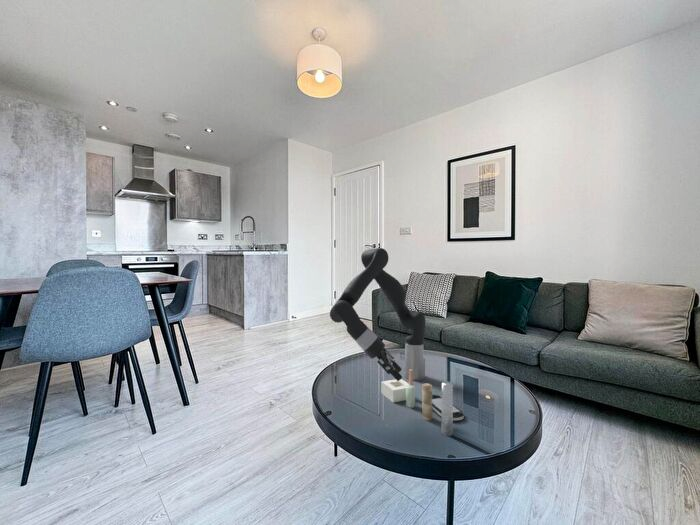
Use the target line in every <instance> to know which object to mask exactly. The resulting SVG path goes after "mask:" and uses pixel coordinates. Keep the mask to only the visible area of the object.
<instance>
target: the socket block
mask: <svg viewBox="0 0 700 525" xmlns="http://www.w3.org/2000/svg"><path fill="white" fill-rule="evenodd" d="M380 384H381V385H380V386H381V389H380V390H381V392H380V393H381V394H382V395H383V396H385V397H386V398H387V399H388V400H389V401H390V402H392V403H397V402H402V401H403V402H404V401H406V386H407V385H412V386H414V380H413V370H412V369H409V379H408V382H407V381H405V380H404V379H402V378H401V379H400V380H399V381H397V380H396V379H395V378H394V379H391V380H390V379H389V380H384V381H381V383H380Z"/></svg>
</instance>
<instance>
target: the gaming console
mask: <svg viewBox="0 0 700 525" xmlns="http://www.w3.org/2000/svg"><path fill="white" fill-rule="evenodd" d="M441 410H442V396H441V395H437V394H432V411H434V412H435V413H436V414H437V415H438V416H440V417H441ZM464 419H465V414H464V413H463V411H462V410H461V409H460V408H458V407H457V406H455V405H454V404H453V422H454V423H455V422H460V421H463V420H464Z"/></svg>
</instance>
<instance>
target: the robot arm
mask: <svg viewBox="0 0 700 525" xmlns="http://www.w3.org/2000/svg"><path fill="white" fill-rule="evenodd" d="M360 259H361V263H362V266H363V267H364V268H365V269H363V270H362V271H361V272H360V273H358V274H357V275H356V276H355V277H354V278H352V279H351V280H350V282H349V283H348V284H347V286H346V287H345V289H344V290H343V292H342V294H341V295H340V297H339V298H338V299H337V300H336V302H335V304H334V305H332V307H331V309H330V311H329V317H330V319H331V321H333V322H334V323H337V324H338V323H342V322H343V323H344V325H345V326H346V332H347V333H348V334H349V336H351V338H352V339H353V340H354V342H356V344H357V345H358V346H359V347H360V348H361V350H362V351H363V352H364V353H365V354H366V355H367V356H368V357H369V358H370V359H374V358H377V363H378V365H379V366H380V367H381V368H382V369H383V370H384V371H385V372H386V373H387V375H391V376H392V377H393V378H394V380H395V379H396V380H397V381H399V380H400V379H402V378H403V376H402V374H400V372H402V367H401V366H400V365H399V364H398V363H397V362H396V360H395V358H394V356H393V355H392V354H391V353H390V352H389V351H388V350H387V349H386V343H384V342H383V341H382V340H381V339H380V337H379V336H378V335H377V334H376V333H375V332H374V331H373V330H372V329H371V328H370V327H368V326H367V325H366V324H365V323H364V321H363V320H361V318H360V316H359V314H358V313H357V311H356V309H355V307H354V306H355V305H356V304H357V303H358V301H359V300H360V299H361V297H362V296H363V294H364V293H365V291H366V289H367V288H368V286H369V285H370V284H371V283H372V281H373V280H374V281H375V282H376V283H377V284H378V286H379V287H380V289H381V291H382V292H383V294H384V295H385V297H386V299H387V300H388V302H390V305H391V306H392V308H393V309H394V310H395V313H396V315H397V316H398V319H399V321H400V322H401V325H402V326H403V328H405V329H407V330H411V331H412V334H411V335H407V336H405V339H404V346H405V347H404V377H405V378H406V379H408V380H409V369H412V370H413V381H421V380H423V379H425V378H426V359H425V358H424V340H425V338H426V337H425V336H426V316H425V315H424V313H423V312H419V311H413V310H410V309H409V308H408V306H407V304H406V300H407V294H406V290H405V289H404V287H403V285H402V283H401V282H400V281H399V280H398V279H396V277H395V276H393V275H392V274H389V273H388V272H386V270H384V269H385V267H386V266H387V265H388V262H389V253H388V251H387V250H386V249H385V248H382V247H376V248H371V249H370V248H369V249H366V250H363V251H362V253H361V258H360Z"/></svg>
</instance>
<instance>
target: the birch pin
mask: <svg viewBox="0 0 700 525" xmlns="http://www.w3.org/2000/svg"><path fill="white" fill-rule="evenodd" d="M421 385H422V386H421V393H422V394H421V400H422V401H421V405H422V406H421V408H422V409H421V412H422V413H421V418H422V419H423V420H425V421H432V420H433V409H432V395H433V385H432V384H431V383H422V384H421Z"/></svg>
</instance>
